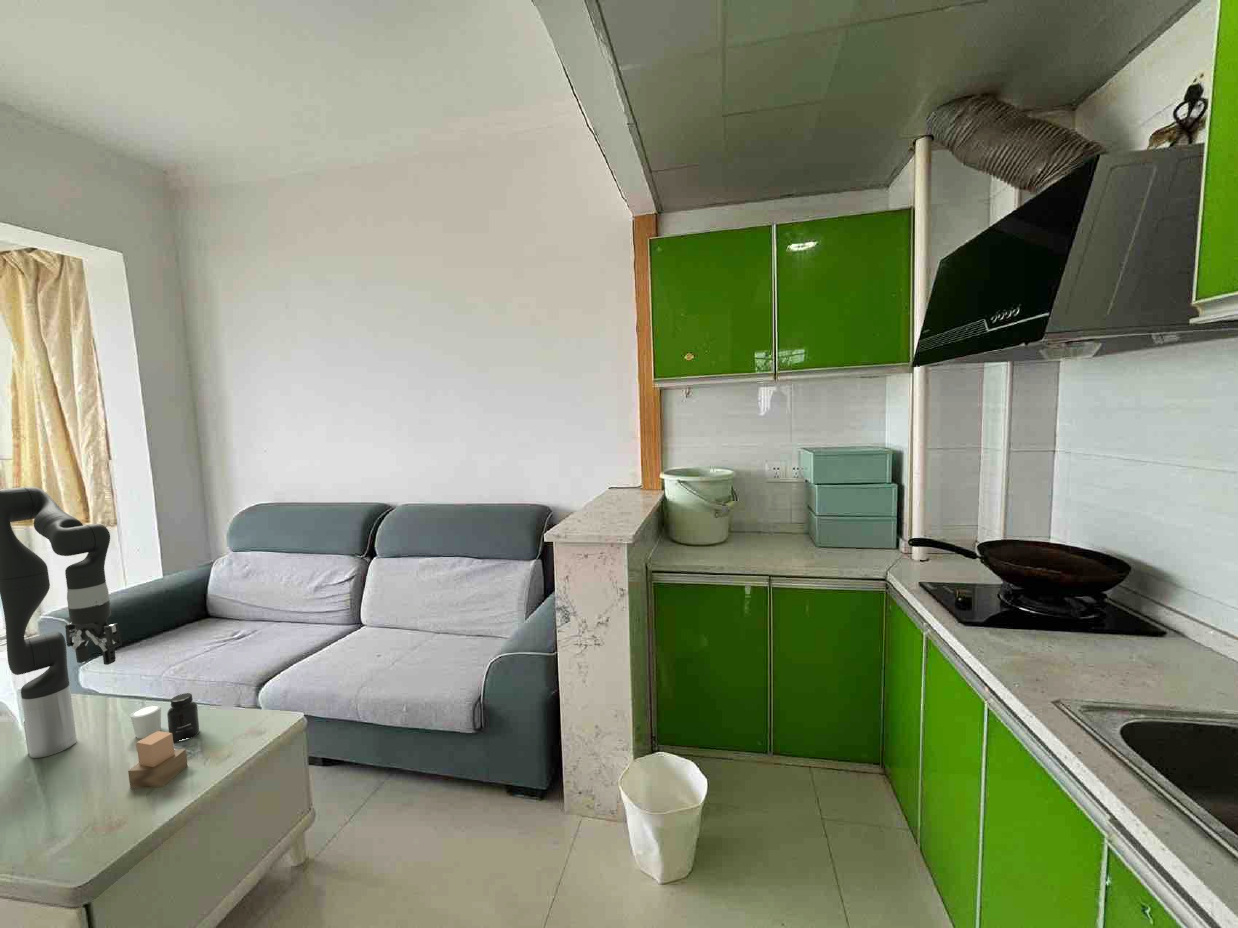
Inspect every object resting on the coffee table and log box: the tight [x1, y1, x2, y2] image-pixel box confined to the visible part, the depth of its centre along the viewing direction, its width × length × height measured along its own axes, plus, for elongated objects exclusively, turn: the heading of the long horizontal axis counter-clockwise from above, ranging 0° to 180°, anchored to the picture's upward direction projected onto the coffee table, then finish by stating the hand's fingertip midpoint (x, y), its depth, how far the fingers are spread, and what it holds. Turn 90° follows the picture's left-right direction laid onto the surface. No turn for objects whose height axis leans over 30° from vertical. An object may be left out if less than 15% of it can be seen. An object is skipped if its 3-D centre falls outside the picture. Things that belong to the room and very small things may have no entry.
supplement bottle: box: [166, 692, 200, 743], centre depth 153 cm, size 7×7×12 cm
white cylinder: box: [129, 704, 162, 739], centre depth 156 cm, size 7×7×7 cm
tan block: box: [136, 730, 175, 767], centre depth 135 cm, size 5×5×6 cm
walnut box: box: [127, 748, 188, 790], centre depth 136 cm, size 8×8×5 cm
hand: (96, 662), depth 136 cm, fingers open, 8 cm apart
